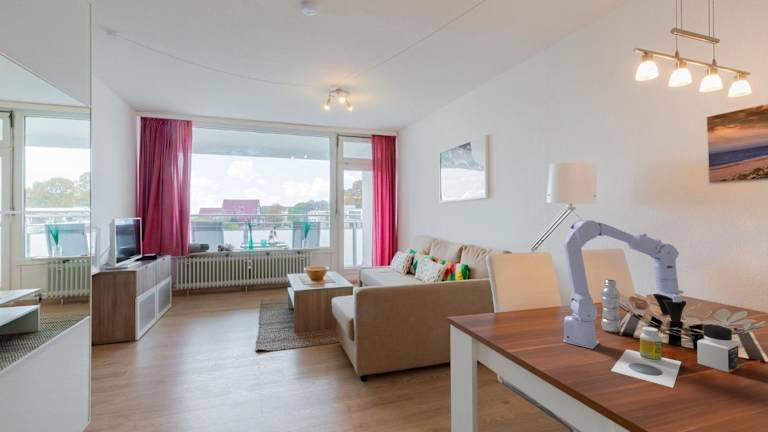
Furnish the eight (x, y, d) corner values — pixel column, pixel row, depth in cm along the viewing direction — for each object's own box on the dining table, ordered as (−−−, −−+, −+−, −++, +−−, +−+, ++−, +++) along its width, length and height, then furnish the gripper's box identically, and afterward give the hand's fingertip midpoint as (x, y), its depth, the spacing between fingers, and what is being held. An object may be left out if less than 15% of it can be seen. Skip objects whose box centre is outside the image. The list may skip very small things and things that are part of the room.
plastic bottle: (603, 333, 130) (602, 281, 130) (599, 327, 136) (598, 278, 136) (623, 335, 128) (622, 282, 128) (618, 329, 134) (617, 279, 134)
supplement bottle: (644, 354, 110) (643, 324, 110) (664, 359, 106) (664, 329, 106) (637, 358, 107) (636, 328, 107) (657, 364, 103) (657, 332, 103)
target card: (610, 372, 99) (610, 370, 99) (626, 350, 114) (626, 349, 114) (673, 389, 89) (673, 387, 89) (681, 362, 104) (681, 361, 104)
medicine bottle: (729, 373, 97) (728, 331, 97) (697, 363, 103) (696, 324, 103) (739, 367, 100) (738, 327, 100) (707, 358, 106) (707, 321, 106)
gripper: (691, 282, 107) (696, 325, 106) (671, 273, 120) (676, 311, 120) (663, 282, 109) (668, 324, 109) (647, 274, 123) (652, 311, 122)
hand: (671, 318), depth 114 cm, fingers open, 7 cm apart
